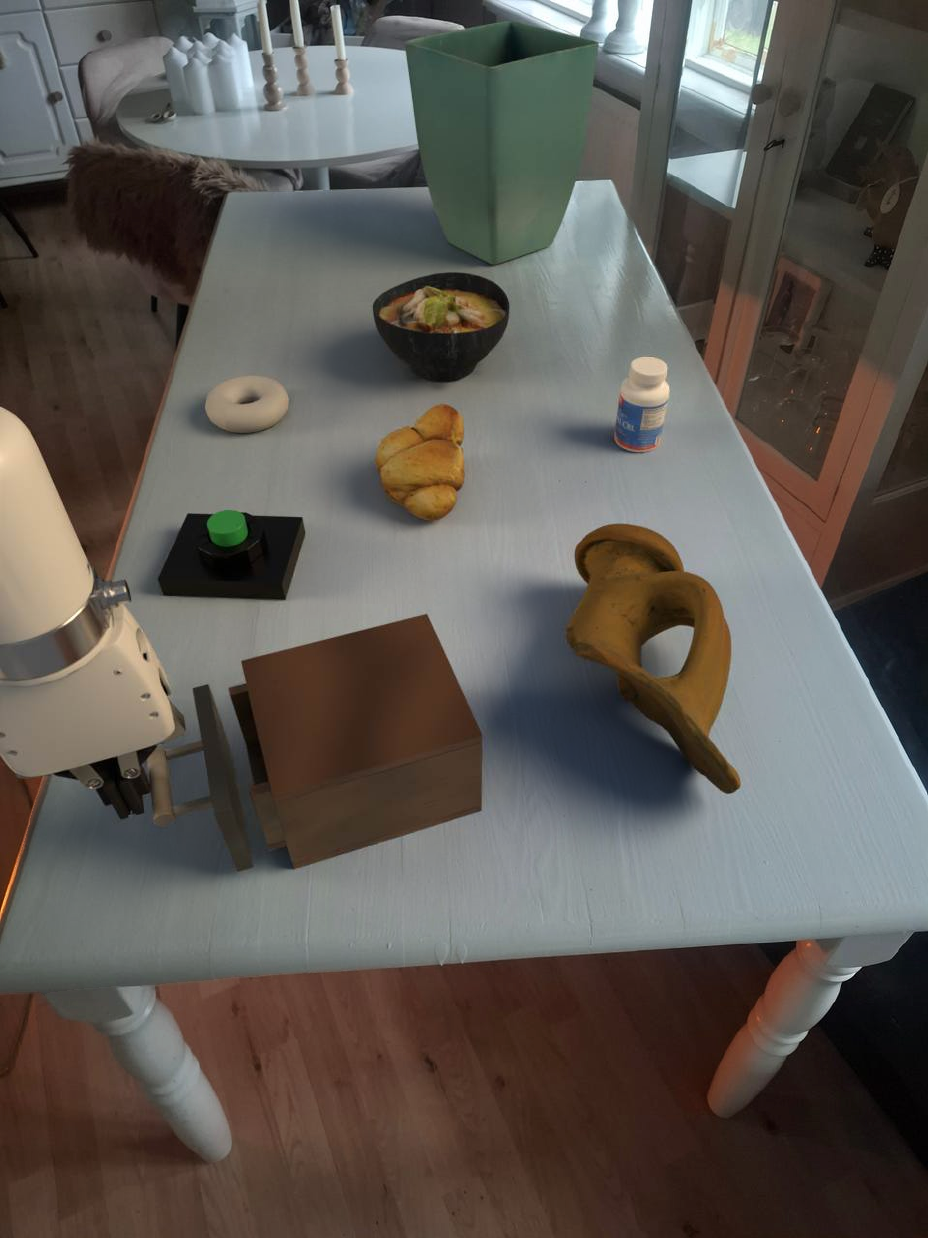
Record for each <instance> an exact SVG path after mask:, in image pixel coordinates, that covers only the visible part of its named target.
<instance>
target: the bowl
mask: <svg viewBox="0 0 928 1238" xmlns="http://www.w3.org/2000/svg"><path fill="white" fill-rule="evenodd" d="M510 305H511V304H510V300H509V298H508V296H507V294H506V292H505V291H504V290H503V289H502V288H501V286H499V285H498V284H497V283H495V282H494V281H493V280H491V279H488V278H487V277H483V276H482V275H477V274H473V273H468V272H458V271H451V272H450V271H447V272H438V273H437V272H436V273H432V274H428V275H424V276H420V277H419V276H418V277H416V278H413V279H410V280H408V281H405V282H402V283H400V284H398V285H395V286H392V287H391V288H389V289H387V290H385V291H384V292H382V293H381V294H380V295H378V296H377V298H375V300H374V302H373V304H372V314H373V320H374V323H375V327H376V329H377V332H378V334H379V335H380V337H381V339H382V340H383V342H384V344H385V345H386V346H387V348H388V349H389V351H391V352H392V353H393V354H394V355H395V356H396V357H397V358H398V359H399V360H401V361H402V362H403V363H404V364H407V365H408V366H409V368H410V370H411V371H412V373H413V374H414V375H415V376H416V377H419V378H421V379H424V380H426V381H429V382H435V383H449V382H455V381H459V380H462V379H464V378H466V377H468V376H469V375H471V374H472V373H473V372H474V371H475V368H476V367H477V365H478V364H479V363H480V362H482V361H483V360H484V359H485V358H486V357H488V355H489V354H491V352H492V351H493V350H494V348H495V347H496V346H497V345H498V344H499V342H500V341H501V340H502V338H503V337H504V334H505V331H506V329H507V327H508V324H509V319H510V307H511V306H510Z"/></svg>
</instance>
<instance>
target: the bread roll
mask: <svg viewBox="0 0 928 1238" xmlns="http://www.w3.org/2000/svg"><path fill="white" fill-rule="evenodd" d="M464 437H465V425H464V419H463V417H462V415H461V413H460V412H459V411H458V410H457V409H456V408H454V407H453V406H451V405H449V404H445V403H440V404H437V405H433V406H432V407H430V408H429V409H427V410H426V411H425V413H423V414H422V415H421V416H420V417H419V418H418V419H416V420H415V422H414V424H413V426H408V425H407V426H403V427H400V428H398V429H395V430H393V431H391V432H388V433H387V434H386V435H385V436H384V437H383V438H380V443H379V444H378V447H377V450H376V454H375V460H374V461H375V462H374V463H375V467H376V470H377V471H378V472H379V476H380V477H379V479H380V483H381V486H382V489H383V491H384V493H385V494H386V497H387V498H388V499H389V500H391V501H392V502H394V503H396V504H397V505H399V506H402V507H404V508H405V509H407V511H408V512H410V514H411V515H413V516H415V517H417V518H419V519H421V520H425V521H430V522H431V521H438V520H441V519H443V518H445V517H446V516H447V515H449V514H450V512H452V510H453V509H454V507H455V505H456V503H457V499H458V492H459V491H460V490H461V489H462V488H463V486H464V483H465V457H464V448H463V447H462V444H463V441H464Z"/></svg>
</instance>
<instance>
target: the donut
mask: <svg viewBox="0 0 928 1238" xmlns="http://www.w3.org/2000/svg"><path fill="white" fill-rule="evenodd" d="M289 401H290V397H289V394H288V392H287V390H286V389H285V387H284V386H283V385H282V384H281V383H279V382H278V381H276V380H275V379H273V378H270V377H267V376H264V375H254V374H252V375H240V376H236V377H231V378H228V379H226V380H224V381H221V382H220V383H218V384H217V385H215V386H214V387H213V388H212V389H211V390H210V392H209V393H208V394H207V395H206V399H205V404H204V409H205V413H206V414H207V417H208V419H209V420H210V422H211V423H212V424H214V425H215V426H216V427H218V428H219V429H221V430H225V431H227V432H229V433H237V434H249V433H256V432H260V431H264V430H266V429H269V428H271V427H273V426H275V425H276V424H278V423H279V422H280V421H281V420H282V419H284V417H285V415H286V414H287V412H288V410H289V404H290V402H289Z"/></svg>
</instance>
